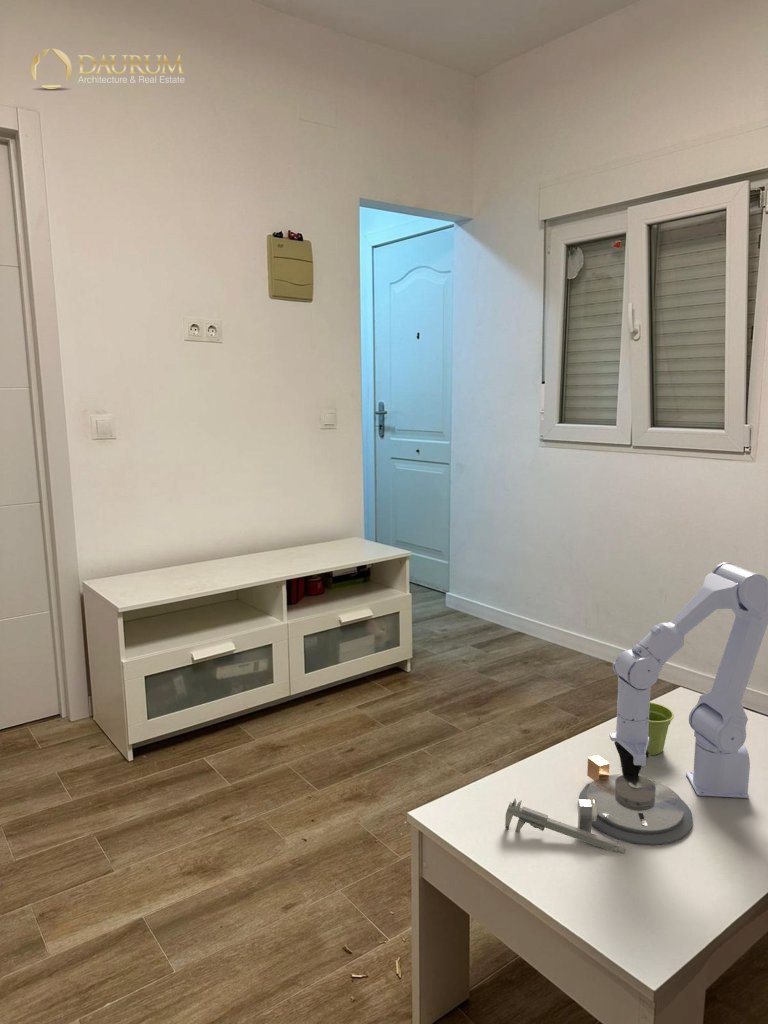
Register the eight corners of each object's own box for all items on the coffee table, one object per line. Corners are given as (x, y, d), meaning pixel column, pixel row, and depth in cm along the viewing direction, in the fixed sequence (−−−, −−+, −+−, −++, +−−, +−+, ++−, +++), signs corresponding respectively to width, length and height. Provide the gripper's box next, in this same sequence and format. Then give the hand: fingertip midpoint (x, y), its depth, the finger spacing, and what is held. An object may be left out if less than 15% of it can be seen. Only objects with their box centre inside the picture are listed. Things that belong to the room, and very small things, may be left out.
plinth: (675, 784, 143) (675, 780, 143) (707, 848, 124) (707, 844, 124) (571, 779, 146) (571, 775, 146) (586, 841, 126) (587, 837, 126)
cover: (650, 790, 137) (651, 774, 137) (658, 811, 130) (659, 795, 130) (612, 787, 138) (612, 772, 138) (618, 809, 131) (618, 793, 131)
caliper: (505, 831, 130) (505, 799, 129) (506, 827, 131) (506, 796, 130) (624, 855, 123) (626, 821, 122) (625, 851, 124) (626, 817, 123)
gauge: (593, 825, 131) (594, 795, 130) (596, 837, 127) (597, 806, 126) (577, 824, 131) (578, 794, 130) (580, 837, 128) (581, 806, 127)
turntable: (666, 776, 144) (667, 758, 144) (695, 836, 125) (697, 816, 125) (578, 771, 146) (579, 754, 146) (594, 831, 127) (595, 811, 127)
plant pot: (664, 738, 162) (666, 702, 160) (677, 760, 152) (679, 722, 151) (621, 737, 162) (623, 700, 161) (631, 758, 153) (633, 720, 152)
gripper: (604, 696, 144) (601, 760, 146) (618, 731, 130) (615, 801, 132) (641, 698, 143) (637, 761, 145) (659, 733, 129) (655, 803, 131)
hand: (629, 780), depth 139 cm, fingers closed
